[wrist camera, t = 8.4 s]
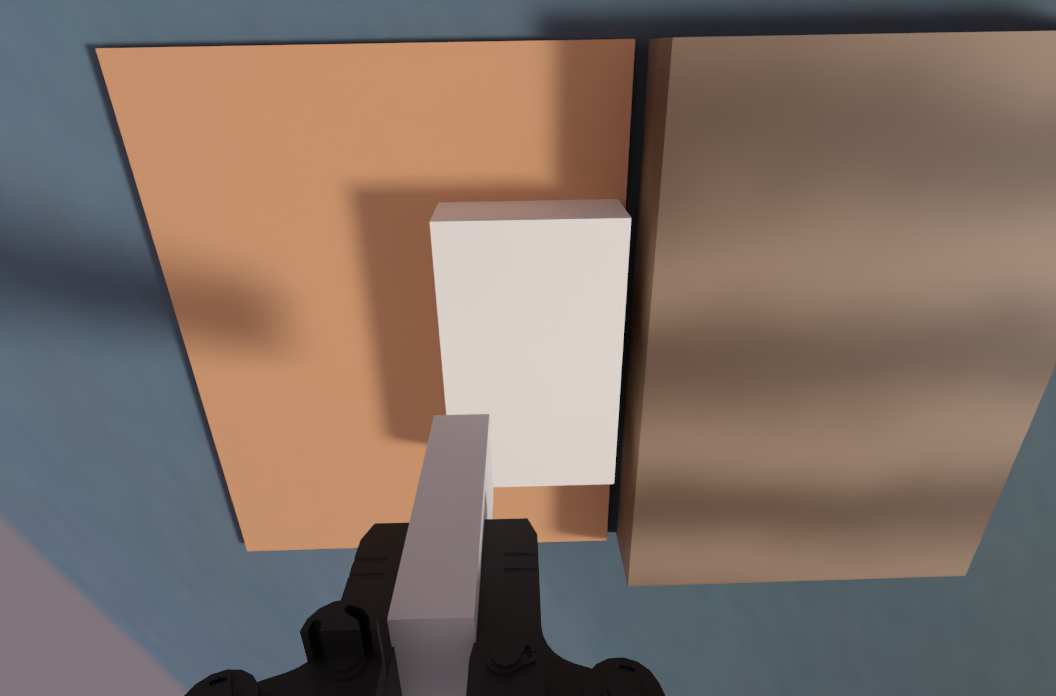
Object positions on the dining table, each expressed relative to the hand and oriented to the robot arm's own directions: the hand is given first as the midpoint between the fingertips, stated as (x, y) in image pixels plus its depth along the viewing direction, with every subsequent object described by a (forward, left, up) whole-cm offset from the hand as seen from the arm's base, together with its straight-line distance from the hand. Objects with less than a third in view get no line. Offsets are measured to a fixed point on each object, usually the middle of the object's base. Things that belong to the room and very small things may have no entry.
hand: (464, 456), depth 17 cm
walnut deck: (0, -13, -7) cm, 15 cm away
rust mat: (0, +3, -7) cm, 7 cm away
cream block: (+1, -2, -7) cm, 7 cm away
